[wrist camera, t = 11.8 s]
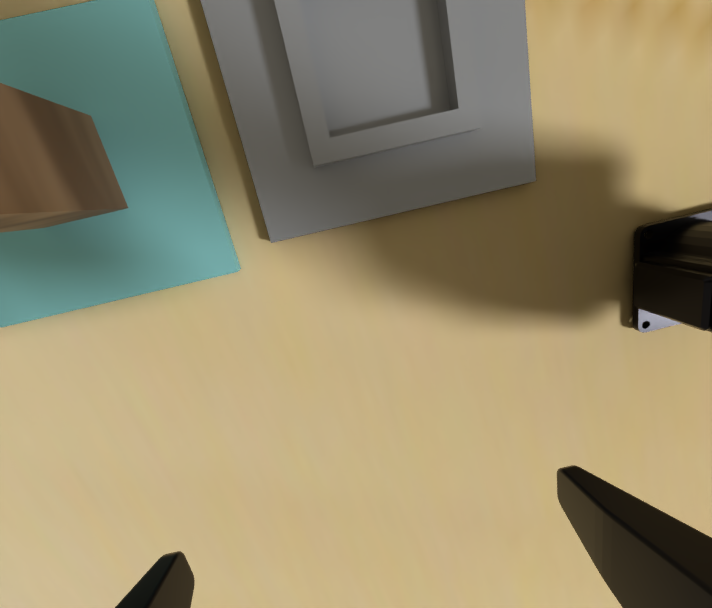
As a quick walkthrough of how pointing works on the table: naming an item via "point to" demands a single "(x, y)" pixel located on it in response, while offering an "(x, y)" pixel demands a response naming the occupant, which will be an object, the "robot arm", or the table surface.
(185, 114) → the mat
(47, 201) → the walnut block
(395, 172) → the holder
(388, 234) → the table surface
